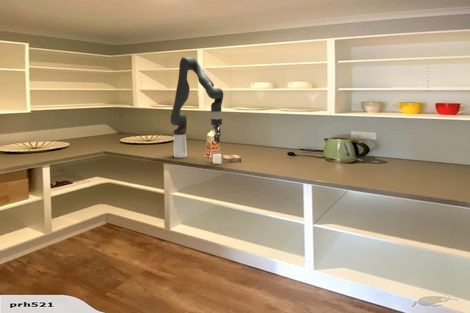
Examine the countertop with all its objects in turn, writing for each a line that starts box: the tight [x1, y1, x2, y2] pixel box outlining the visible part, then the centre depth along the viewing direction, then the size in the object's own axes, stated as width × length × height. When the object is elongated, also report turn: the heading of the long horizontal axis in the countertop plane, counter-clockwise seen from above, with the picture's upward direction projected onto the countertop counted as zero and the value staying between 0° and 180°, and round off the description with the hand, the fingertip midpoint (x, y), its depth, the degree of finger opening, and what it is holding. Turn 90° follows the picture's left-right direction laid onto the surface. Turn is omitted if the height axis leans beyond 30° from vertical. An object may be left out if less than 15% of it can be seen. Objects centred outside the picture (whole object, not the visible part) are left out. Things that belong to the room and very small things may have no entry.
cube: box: [212, 153, 222, 165], centre depth 265 cm, size 5×5×6 cm
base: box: [221, 154, 242, 164], centre depth 272 cm, size 12×12×3 cm
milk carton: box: [204, 130, 221, 159], centre depth 287 cm, size 9×9×20 cm
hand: (216, 141), depth 263 cm, fingers open, 8 cm apart
